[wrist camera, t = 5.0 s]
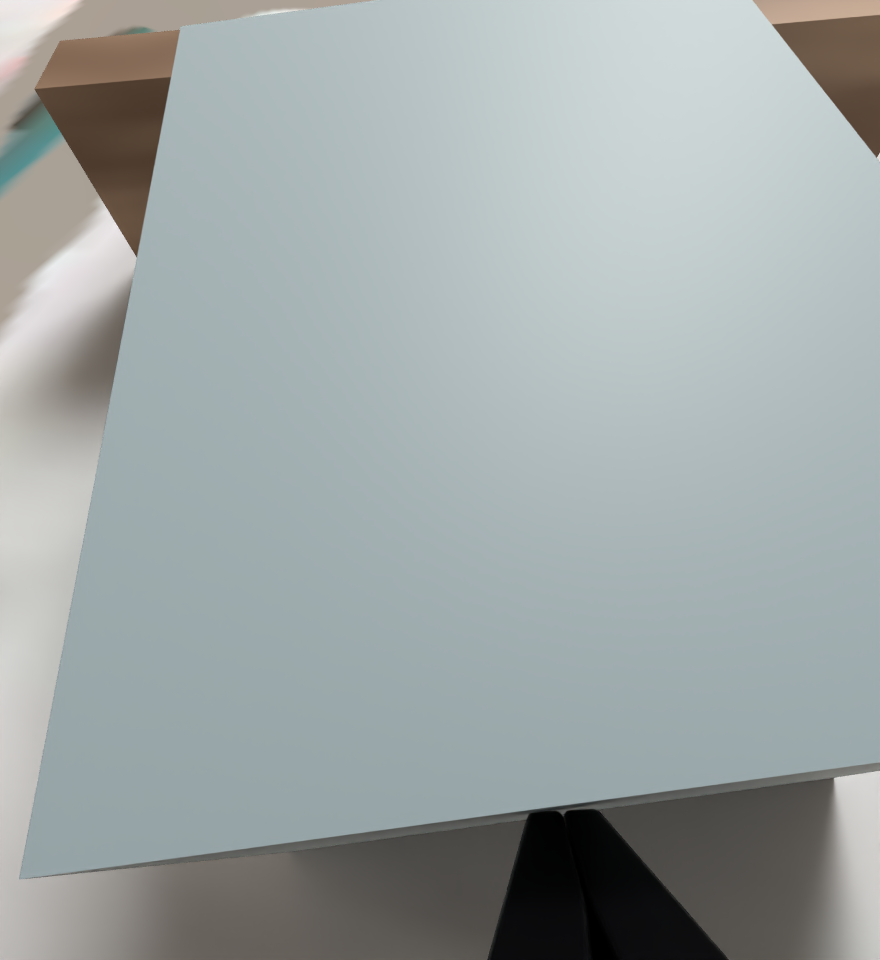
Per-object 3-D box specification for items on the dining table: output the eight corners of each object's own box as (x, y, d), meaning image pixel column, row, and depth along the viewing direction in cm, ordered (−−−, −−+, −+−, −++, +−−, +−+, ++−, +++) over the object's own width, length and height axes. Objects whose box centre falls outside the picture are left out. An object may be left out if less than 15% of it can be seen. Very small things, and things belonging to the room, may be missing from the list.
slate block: (832, 778, 13) (1308, 704, 6) (289, 851, 13) (19, 879, 6) (632, 272, 21) (716, -46, 14) (291, 318, 21) (180, 26, 14)
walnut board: (829, 239, 22) (963, 7, 15) (156, 289, 22) (34, 88, 16) (805, 194, 23) (921, -38, 17) (168, 243, 24) (60, 41, 18)
